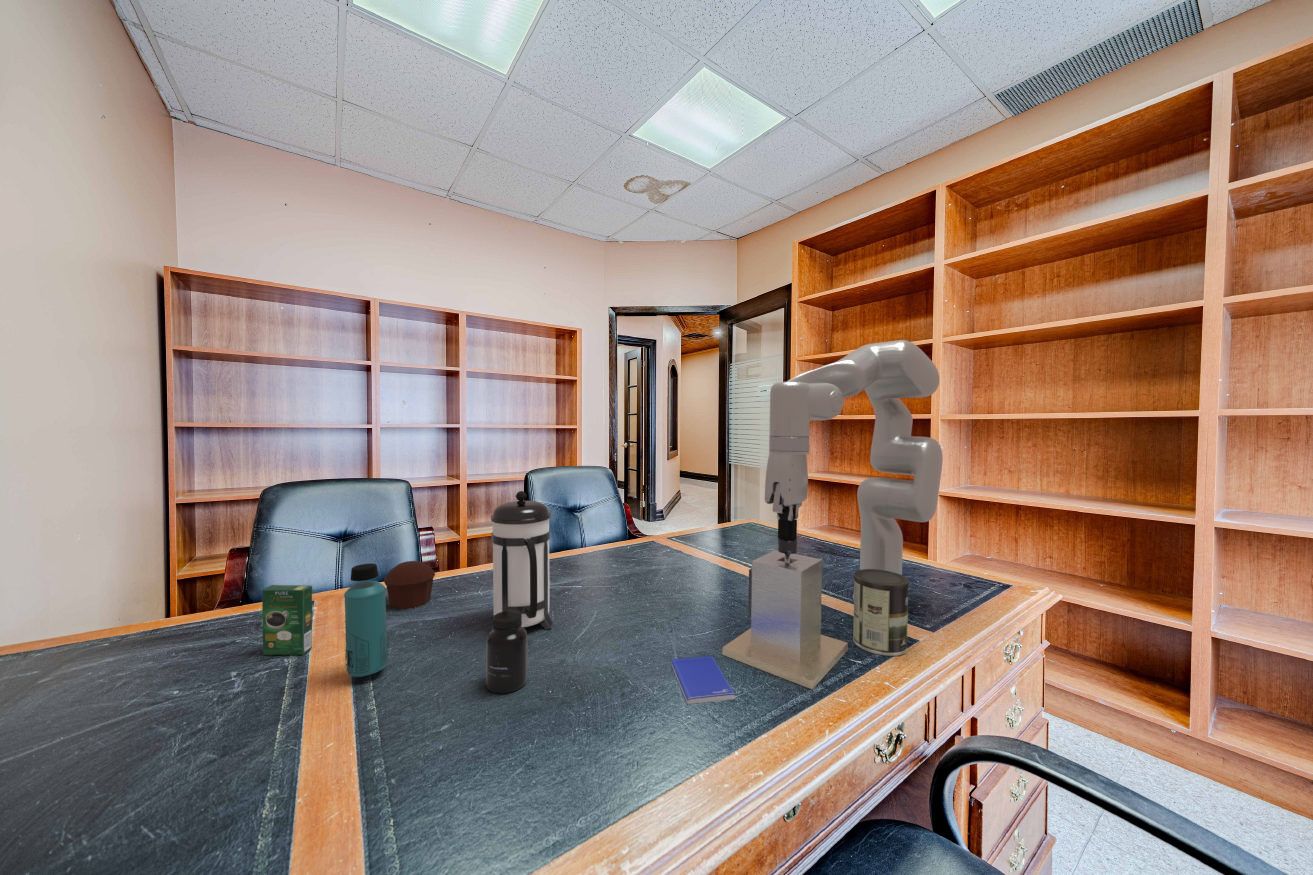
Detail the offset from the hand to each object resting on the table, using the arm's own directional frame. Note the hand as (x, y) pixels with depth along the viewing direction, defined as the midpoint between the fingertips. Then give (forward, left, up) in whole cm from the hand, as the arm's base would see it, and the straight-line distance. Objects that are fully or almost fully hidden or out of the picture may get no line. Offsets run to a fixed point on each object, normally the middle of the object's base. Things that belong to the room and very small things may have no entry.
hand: (787, 539), depth 92 cm
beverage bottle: (+57, -53, -23) cm, 81 cm away
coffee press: (+27, -49, -23) cm, 60 cm away
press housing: (0, 0, -23) cm, 23 cm away
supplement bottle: (+42, -32, -23) cm, 57 cm away
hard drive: (+19, -7, -24) cm, 31 cm away
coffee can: (-16, +13, -23) cm, 31 cm away
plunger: (0, 0, -16) cm, 16 cm away
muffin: (+38, -82, -23) cm, 93 cm away
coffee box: (+64, -74, -23) cm, 100 cm away
